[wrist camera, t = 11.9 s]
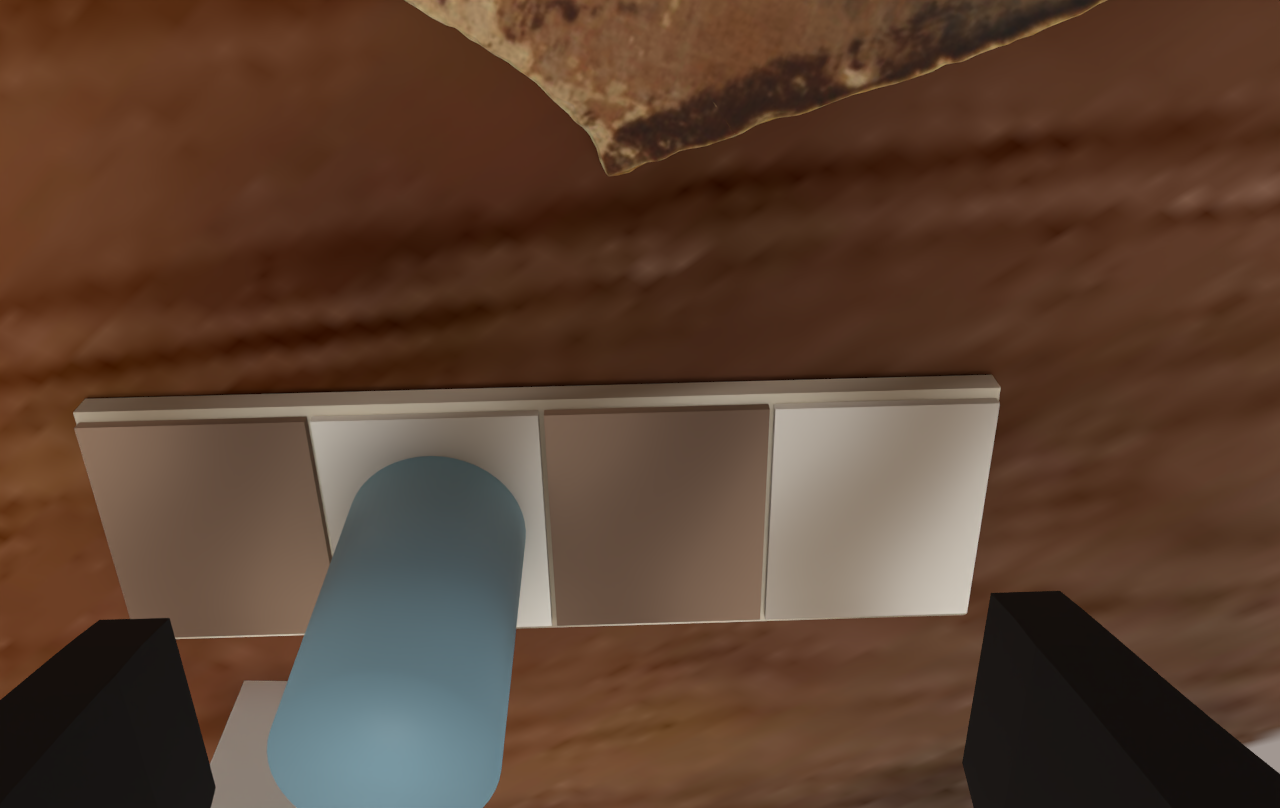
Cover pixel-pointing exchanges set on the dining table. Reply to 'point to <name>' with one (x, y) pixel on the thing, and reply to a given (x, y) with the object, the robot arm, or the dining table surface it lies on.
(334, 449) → the board
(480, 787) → the blue capsule cylinder
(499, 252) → the dining table surface
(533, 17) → the shard
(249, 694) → the die
